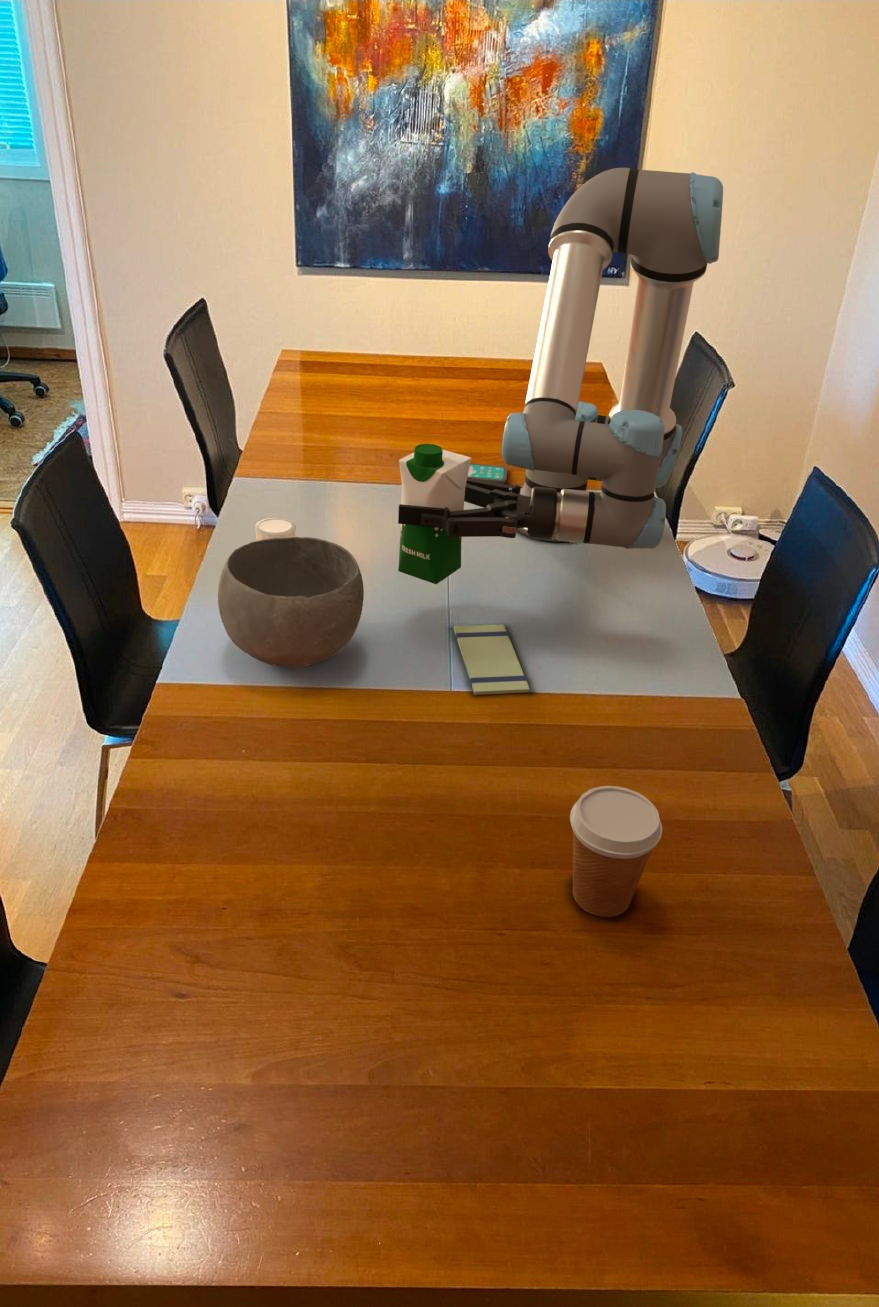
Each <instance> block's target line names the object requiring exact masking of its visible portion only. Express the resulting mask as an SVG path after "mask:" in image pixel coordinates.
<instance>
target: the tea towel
mask: <svg viewBox="0 0 879 1307" xmlns="http://www.w3.org/2000/svg"><path fill="white" fill-rule="evenodd" d="M453 631H454V634H455V638H456V641H457V644H458V647H459V651H460V654H461V656H462V659H463V663H464V666H465V670H466V673H467V676H468V678H469V682H470V685H471V688H472V691H473V695H475V696H478V695H480V696H481V695H503V694H523V693H525V694H527V693H530V690H531V689H530V686H529V683H528V681H527V678H526V676H525V674H524V671H523V670H522V667H521V666H522V665H521V664H520V661H519V659H518V656H517V654H516V650H515V649H514V646H513V644H512V642H511V639H510V636H509V634H508V631H507V629H506V626H505V624H503V623H502V624H476V625H475V624H473V625H454V626H453Z"/></svg>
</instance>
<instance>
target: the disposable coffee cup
mask: <svg viewBox="0 0 879 1307" xmlns="http://www.w3.org/2000/svg"><path fill="white" fill-rule="evenodd" d="M569 821H570V825H571V829H572V834H573V835H572V836H573V837H572V847H573V848H572V896H573V899H574V901H575V903H576V904H577V905H578V906H579V907H580V908H581V909H582V910H584V912H586V913H589V914H591V915H594V916H597V917H602V918H604V917H605V918H613V917H616V916H620V915H621V914H623V913H624V912H626V911H627V909H629V907H630V904H631V901H632V900H633V897H634V895H635V892H636V889H637V888H638V885H639V883H640V880H641V878H642V875H643V873H644V870H645V867H646V865H647V863H648V861H649V859H650V856H651V853H652V851H653V849H654V848H655V847H656V846H657V844H658V843H659V842H660V840H661V838H662V836H663V825H662V821H661V819H660V814H659V811H658V809H657V807H656V806H655V805H654V804H653V802H652V801H651V800H650V799H648V798H647V796H645V795H643V794H641V793H640V792H638V791H635V790H632V789H630V788H626V787H623V786H617V785H603V786H596V787H594V788H591V789H588V790H587V791H585V792H584V793H582V794H581V796H580V797H579V798H578V800H577V801H576V802H575V803H574V804H573V806H572V807H571V810H570V814H569Z"/></svg>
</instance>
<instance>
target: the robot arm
mask: <svg viewBox="0 0 879 1307" xmlns="http://www.w3.org/2000/svg"><path fill="white" fill-rule="evenodd" d="M723 202H724V185H723V182H722V181H721V180H720V179H719V178H718V177H716V176H713V175H712V176H711V175H703V174H697V173H695V172H690V173H689V172H677V171H664V170H651V169H635V168H631V167H616V168H611V169H607V170H604V171H602V172H600V173H598V174H596V175H594V176H593V177H591V178H590V179H589V180H587V181H586V182H584V184H582V185H581V186H580V187H579V188H578V189H577V190H576V191H574V193H573V194H572V195H571V196H570V197H569V199H568V200H567V201H566V203H565V204H564V206H563V207H562V209H561V210H560V212H559V214H558V215H557V217H556V220H555V221H554V224H553V227H552V230H551V232H550V237H549V242H548V243H549V244H548V249H547V254H548V257H549V258H550V260H551V261H552V263H551V268H550V274H549V279H548V282H547V283H548V284H547V289H546V294H545V299H544V304H543V309H542V314H541V320H540V325H539V329H538V335H537V341H536V345H535V351H534V355H533V360H532V365H531V371H530V376H529V377H530V378H529V381H528V386H527V390H526V397H525V402H524V408H523V411H522V412H511V413H509V415H508V416H507V418H506V421H505V425H504V428H503V430H504V431H503V435H502V444H501V456H502V457H501V458H502V460H503V462H504V463H505V465H508V466H511V467H514V468H519V469H524V470H525V474H524V476H525V477H524V484H523V486H521V485H518V484H506V483H505V484H500V483H495V482H489V481H484V480H479V479H473V478H468V477H467V481H466V486H465V497H464V503H467V504H470V505H475V506H478V508H470V509H464V510H460V511H451V512H450V510H449V509H448V508H447V507H446V508H433V507H423V506H413V505H402V504H401V503H399V505H398V518H397V520H398V521H397V524H399V525H401V524H406V525H417V526H427V527H438V528H443V529H444V530H445V531H447V536H448V537H462V538H475V537H476V538H479V537H481V538H483V537H485V538H486V537H494V538H495V537H500V538H507V539H515V538H517V532H518V533H520V534H522V535H524V536H526V537H527V538H529V539H533V540H539V541H545V542H554V543H563V542H564V543H565V542H569V544H570V545H575V544H576V543H579V544H589V545H590V544H591V545H598V546H599V545H600V546H607V547H608V546H610V547H617V548H624V549H626V550H627V549H628V550H630V549H636V550H637V549H640V550H645V549H647V550H650V549H655V548H657V547H658V546H659V545H660V543H661V542H662V539H663V536H664V532H665V523H666V517H667V505H666V502H665V500H664V499H663V498H660V497H657V496H655V490H656V489H658V488H659V489H660V488H661V487H663V486H665V485H666V484H667V483H668V481H669V480H670V477H671V476H672V475H671V474H672V472H673V470H674V467H675V464H676V460H677V457H678V452H679V449H680V446H681V442H682V438H683V427H682V425H680V424H678V423H677V416H676V414H675V412H674V410H672V408H670V407H671V403H672V398H673V392H674V388H675V382H676V377H677V371H678V366H679V361H680V357H681V351H682V346H683V341H684V335H685V329H686V324H687V320H688V314H689V308H690V305H691V304H690V303H691V298H692V293H693V289H694V288H693V287H694V284H695V282H697V281H698V280H700V279H701V278H703V277H704V276H705V274H706V271H707V267H708V264H713V263H717V262H718V260H719V258H720V257H719V256H720V245H721V244H720V243H721V233H722V232H721V231H722V230H721V229H722V217H723V204H724V203H723ZM614 253H617V254H622V255H623V254H624V255H630V256H631V257H630V262H629V263H630V265H629V266H630V268H631V270H632V271H633V272H634V274H635V275H636V276H637V283H636V290H635V297H634V302H633V309H632V319H631V324H630V330H629V337H628V343H627V351H626V357H625V366H624V372H623V376H622V377H623V379H622V386H621V390H620V398H619V401H618V402H617V403H616V404H614V405H613V406H612V407H611V409H610V411H609V414H608V415H602V414H599V410H598V406H596V405H595V404H593V403H592V402H587V401H581V400H580V397H581V391H582V385H583V380H584V375H585V369H586V364H587V358H588V353H589V348H590V342H591V336H592V331H593V325H594V320H595V313H596V310H597V304H598V297H599V292H600V287H601V283H602V276H603V271H604V270H605V269H606V268H607V267H608V266H609V265H610V263H611V262H612V260H613V254H614ZM588 481H597V482H601V486H600V490H601V491H600V492H598V491H590V490H588Z"/></svg>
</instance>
